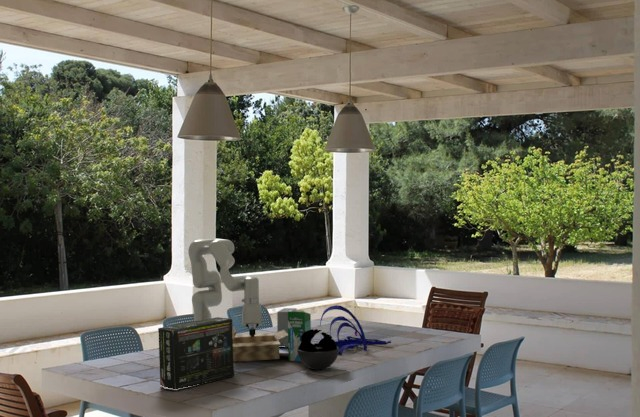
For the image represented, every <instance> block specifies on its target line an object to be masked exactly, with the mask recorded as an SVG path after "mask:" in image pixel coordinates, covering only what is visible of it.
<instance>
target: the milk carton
mask: <svg viewBox="0 0 640 417" xmlns="http://www.w3.org/2000/svg"><path fill="white" fill-rule="evenodd" d="M311 315H312V314H311V313H309V312H305V310H303V309H300V310H299V309H297V312H290V311H288V348H287V350H288V362H302V361H301V360H300V358H299V356H298V352H297V348H298V347H299V345H300V344H301V336H302V335H303V333H304V332H305V331H308V330H311V329H312V323H311V322H312V321H311Z"/></svg>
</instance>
